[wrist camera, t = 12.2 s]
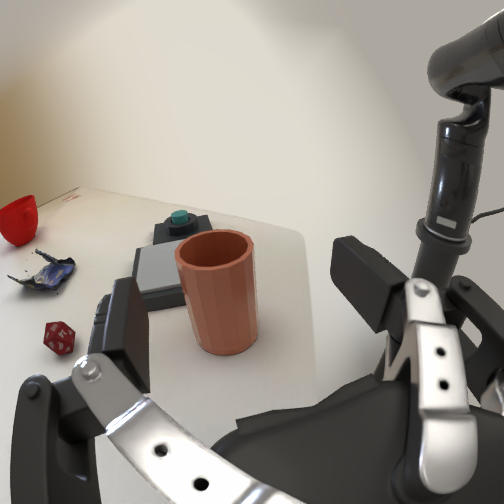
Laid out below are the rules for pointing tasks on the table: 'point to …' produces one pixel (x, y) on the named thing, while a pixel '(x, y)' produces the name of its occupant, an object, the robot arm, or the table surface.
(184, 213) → the button
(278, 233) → the table surface
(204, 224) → the pad
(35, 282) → the snack package
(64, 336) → the dice
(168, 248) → the scale
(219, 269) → the cup
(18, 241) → the ceramic cup
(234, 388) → the table surface
